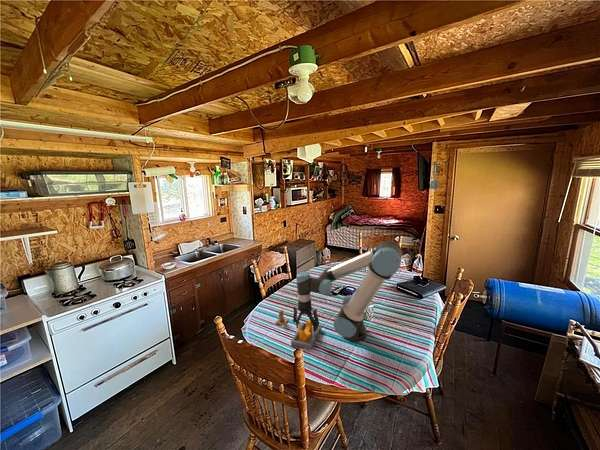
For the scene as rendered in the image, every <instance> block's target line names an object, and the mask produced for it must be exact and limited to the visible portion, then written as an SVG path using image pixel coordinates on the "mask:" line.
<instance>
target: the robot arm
mask: <svg viewBox="0 0 600 450" xmlns="http://www.w3.org/2000/svg"><path fill="white" fill-rule="evenodd" d="M402 257H403V249H402V247H401V245H400V244H399V243H397V242H396V241H393V240H385V241H382V242H380V243H378V244H376V245H374V246H372V247H371V249H370V250H367V251H365V252H363V253H360V254H358V255H356V256H354V257H352V258H349V259H347V260H345V261H343V262H341V263H339V264H337V265H334V266H332V267H326V268H325V269H324V270H323V271H322V273H321V274H320V275H319V276H318V277H317V278H316V277H311V275H310V272H307V271H301V272H298V273H297V274H296V289H297V304H298V306H297V305H296V304H295V305H294V306H293V317H292V322H293V323H295V324H296V325H295V326H296V328H297V331H298V334H299V330H300V329H301V324H302V323H301V318H302V316H303V315H306V316H307V317H308V320H310V321H311V323H312V325H313V326H312V337H313V336H314V335H315V332H316V326H317V327H318V326H320V321H319V316H318V309H317V308H315V309H314V308H313V307H312V293H317V294H322V295H329V294H331V292H332V289H333V282H334V281H338V280H340V279H343V278H345V277H347V276H350V275H352V274H354V273H355V274H356V273H357V272H360V271H362V270H364V269H367V268H368V270H367V272H366V274H365V275H364V277H363V279H362V280H361V282H360V283H359V285H358V287H357V289H355V292H354V293H353V294H349V295H345V296H343V297H342V306H341V308H340V310H339V312H338V313H337V315H336V317H335V318H334V321H333V328H334V331H335V332H336V333H337V334H338V335H339V336H341V337H342V338H343V339H344V340H346V341H349V342H354V343H358V342H362V341H364V340H365V339H366V338H367V335H368V332H367V331H368V330H367V328H366V325H365V323H364V317H365V316H364V312H365V311H366V309H367V308H368V306H369V305H370V303H371V302H372V300H373V299H374V297H375V296H376V294H377V293H378V292H379V290H380V289H381V287H382V286H383V284H384V282H385V281H389V280H390V279H391V278H392V276H393V275H394V274H395V275H396V273H397V272H398V271H399V269H400V268H401V265H402ZM298 310H299V313H298ZM297 316H298V317H297Z"/></svg>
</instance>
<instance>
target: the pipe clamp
mask: <svg viewBox="0 0 600 450" xmlns="http://www.w3.org/2000/svg"><path fill="white" fill-rule="evenodd" d="M306 323H307V324H306V328H305V330H301V329H300V330H299V341H301V342H305V343H307V341H308V340H309V338H310V337H311V331H312V323H311V321H310V319H307V320H306Z"/></svg>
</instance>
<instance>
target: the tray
mask: <svg viewBox="0 0 600 450" xmlns="http://www.w3.org/2000/svg"><path fill="white" fill-rule="evenodd" d="M306 324H307V322H303V321H302V323H301V330H305V328H306ZM312 326H313V325H312ZM321 332H322V325H319V326H318V327H317V326H316V332H315V335H314V336H313V337H312V331H311V337H310V338H309V340H308V341H307V343H305V342H301V341H299V334H298V330H296V332H295V333H294V335H293V336H292V338H291V340H290V344H291V345H290V346H292V347H296V348H300V349H304V348H306V349H305V350H309V351H312V350H313V348H314V346H315V343H316V341H317V340H318V338H319V336H320V333H321Z"/></svg>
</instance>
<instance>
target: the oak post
mask: <svg viewBox="0 0 600 450" xmlns="http://www.w3.org/2000/svg"><path fill="white" fill-rule="evenodd" d="M278 317H279V318H278V319H277V320H276V321H275V325H279V326H283V327H284V326H285V325H286V324H287V322H288V321H289V318H285V317H284V310H283V309H280V310H278Z"/></svg>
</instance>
